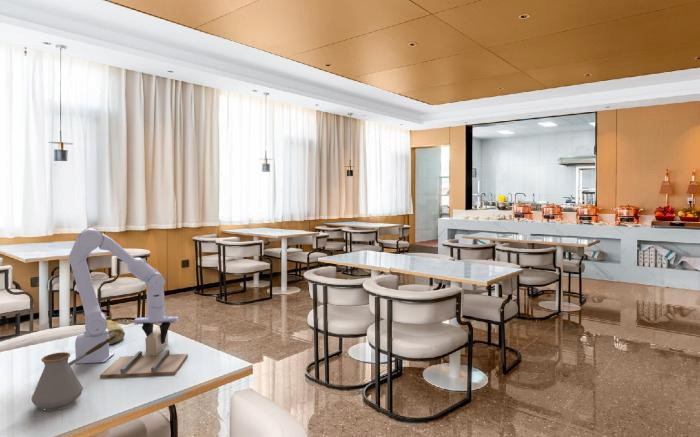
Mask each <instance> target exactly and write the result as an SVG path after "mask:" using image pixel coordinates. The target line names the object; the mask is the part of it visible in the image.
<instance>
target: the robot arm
mask: <svg viewBox="0 0 700 437" xmlns="http://www.w3.org/2000/svg"><path fill="white" fill-rule="evenodd" d="M98 248H99V250H102V251H108V252H110V253H111V254H113V255H114V256H116V257H117V258H118V260H121V261H122V262H123V263H124V264H126V265H127V271H128V272H129V273H130V274H132V275H133V276H135V277H136V278H137V279H139V281H141V282H143V283H145V285H146V286H147V287H146V292H147V293H146V307H147V308H146V312H147V316H145V317H135V319H134V324H133V325H135V326H137V325H141V329H142V330H143V332H144V334H145V335H146V337H147V336H148V335H150V334H151V333H152V332H153V331H154V324H160V325H159V327H160V331H161V344H164V343H165V339H166V334H167V331H168V332H169V328H170V326H171V324H178V323H179V316H173V315H172V316H169V315H166V310H165V309H166V306H165V292H164V290H165V288H164V286H165V285H166V280H165V277H164V276H163V275H162V274H161V273H160V272H159V271H158V269H157V268H155V267H152V266H151V265H150V264H149V263H147V262H148V261H147V260H146V259H145V258H142V257H134V256H133V255H131V254H130V253H129V252H128V251H127V250H126V249H124V248H123V247H122V246H121V245H120V244H119V243H117V241H115V240H114V239H113V238H111V237H110V236H108V235H106V234H105V233H101V232H100V230H99V229H97V228H94V227H88V228H85V229H84V230H82V231H81V232H80V233H79V235H78V236H76V239H75V241H74V243H73V246H72V248H71V250H70V252H69V255H68V260H69V264H70V267H71V270H72V273H73V277H74V280H75V284H76V287H77V291H78V293H79V299H80V301H81V305H82V307H83V312H84V317H85V318H84V323H85V325H84V328H85V331H83V333H79V334H77V336H76V338H75V341H74V349H75V352H74V353H75V359H76V358H78V357H80V356H81V355H83V354H85V353H86V352H87V351H89V350H90V349H92V348H93V347H95V346H96V345H98V344H99V343H102V342H104V341H106V340H107V339H109V332H108V329H107V321H106V320H107V315H106V313H105V312H103V311H102V309H101V307H100V304H99V301H98V297H97V294H96V290H95V287H94V283H93V279H92V276H91V273H90V268H89V266H88V262H87V258H88V257H89V256H90V254H91V253H92V252H93V251H94V250H96V249H98ZM114 354H115V352H110V345H109V343H106V344H105V345H104V346H103V347H101V348H100V349H98V350H96V351H94V352H92V353H91V354H89V355H87V356H85V357H84V358H82V359H80V360H79V361H77V362H76V363H74V364H95V363H97V364H98V363H99V364H100V363H105V362H107V360H109V359H111V357H112V356H114Z"/></svg>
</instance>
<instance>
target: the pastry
mask: <svg viewBox="0 0 700 437" xmlns="http://www.w3.org/2000/svg"><path fill="white" fill-rule="evenodd" d="M106 321H107V329H108V332H109V338H111V337H112V336H115V335H116V336H117V338H118V339H119V341H117V340H118V339H117V338H114V339H113V340H111V341H110V342H109V346H110V345H112V344H116V343H119V342H121V341H123V340H124V337H125V336H126V333H125V330H124V329H123V328H122V327H121V326H120V325H119V324H118V323H117V322H116V321H113V320H111V319H106ZM116 339H117V340H116Z"/></svg>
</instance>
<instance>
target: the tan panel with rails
mask: <svg viewBox="0 0 700 437" xmlns="http://www.w3.org/2000/svg"><path fill="white" fill-rule="evenodd" d="M188 357H189V354H188V353H176V354H175V353H173V354H171V353H170V350H169V349H166V350H165V351H164V353H162V354H157V355H146V354H145V355H143V351H142V350H141V351H137V352H136V353H135V354H134V355H129V356H127V355H126V356H119V357H118V358H117V359H116V360H115V361H114V362H112V363H111V364H110V365H109V366H108V367H107V368H106V369H105V370H104V371H103V372H102V373H100V374H99V379H110V378H111V379H112V378H129V377H131V378H132V377H135V378H136V377H151V376H153V377H154V376H155V377H156V376H169V375H170V376H172V375H176V374H177V373H178V371H179V370H180V368H181V367H182V366H183V364H184V363H185V362H186V360H187V359H188Z"/></svg>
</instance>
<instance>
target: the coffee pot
mask: <svg viewBox="0 0 700 437" xmlns="http://www.w3.org/2000/svg"><path fill="white" fill-rule="evenodd" d="M114 338H117V336H116V335H115V336H112V337H111V338H109V339H107V340H106V341H104V342H102V343H99V344H98V345H96V346H95V347H93V348H92V349H90V350H89V351H87V352H86V353H85V354H83V355H81V356H80V357H78V358H76V357H75V359H73V360H71V361H69V358H70V357H71V353H70V352H65V351H64V352H55V353H52V354H48V355H45V356H43V357H41V362H42V363H43V364H44V367H43V371H42V373H41V374H40V377H39V380H38V381H37V384H36V387H35V389H34V392H33V394H32V397H31V402H32V404H33V405H34V406H35V407H37V408H40V409H41V408H42V409H45V410H44V411H48V410H50V411H57V410H61V409H63V408H67V407H70V406H71V405H73V404H74V403H75V402H76V400H77V399H79V397H80V396H81V395H82V392H83V389H84V387H83V385H82V383H81V381H80V380H79V378H78V376H77V375H76V373H75V372H74V370H73V368H72V365H74V364H75V363H76V362H77V361H79V360H80V359H82V358H84V357H85V356H87V355H89V354H91V353H92V352H94V351H96V350H98V349H100V348H101V347H103V346H104V345H105V344H106V343H109V342H110V341H111V340H113V339H114ZM117 339H118V338H117ZM117 339H116V340H117ZM117 341H119V339H118V340H117ZM119 342H120V341H119ZM42 409H41V410H42Z"/></svg>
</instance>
